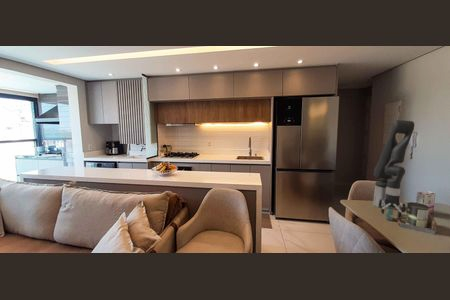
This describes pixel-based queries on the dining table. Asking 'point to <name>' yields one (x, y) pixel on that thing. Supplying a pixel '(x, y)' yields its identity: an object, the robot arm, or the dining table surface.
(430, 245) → the dining table surface
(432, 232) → the track
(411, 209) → the coffee can
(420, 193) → the candy bar box
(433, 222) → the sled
